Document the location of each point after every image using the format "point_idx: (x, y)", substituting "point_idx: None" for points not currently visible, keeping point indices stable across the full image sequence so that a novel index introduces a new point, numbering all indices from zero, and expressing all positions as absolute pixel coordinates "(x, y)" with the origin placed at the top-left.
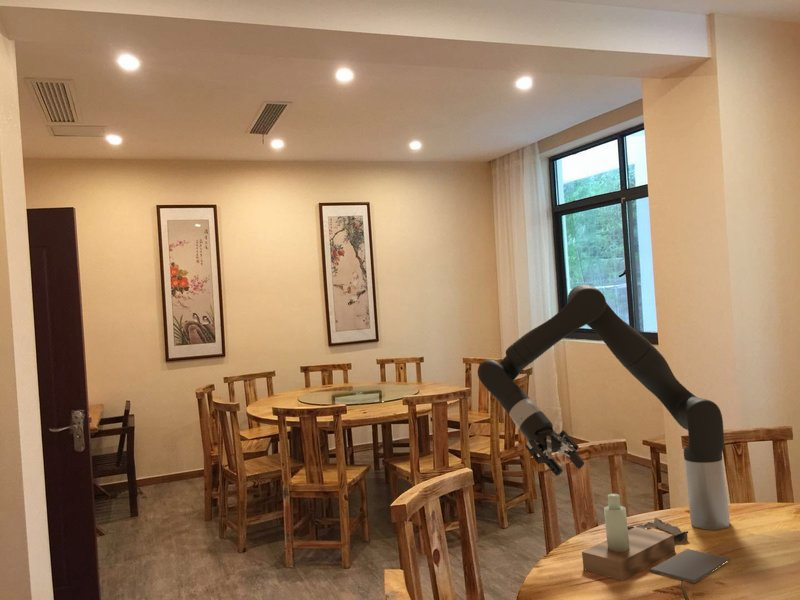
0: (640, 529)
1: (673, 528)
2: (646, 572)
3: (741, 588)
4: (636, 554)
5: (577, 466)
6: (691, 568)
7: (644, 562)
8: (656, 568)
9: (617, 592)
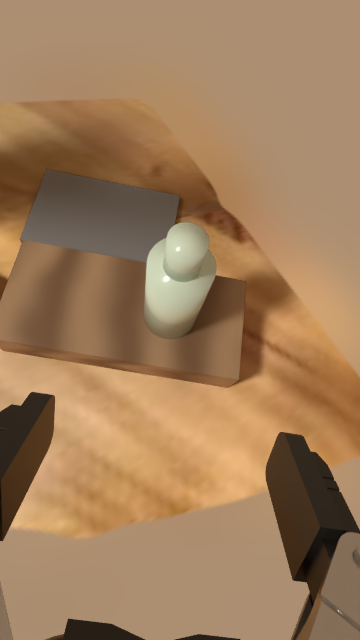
0: (6, 318)
1: None
2: None
3: (162, 145)
4: None
5: (47, 446)
6: (128, 209)
7: None
8: None
9: (285, 286)
